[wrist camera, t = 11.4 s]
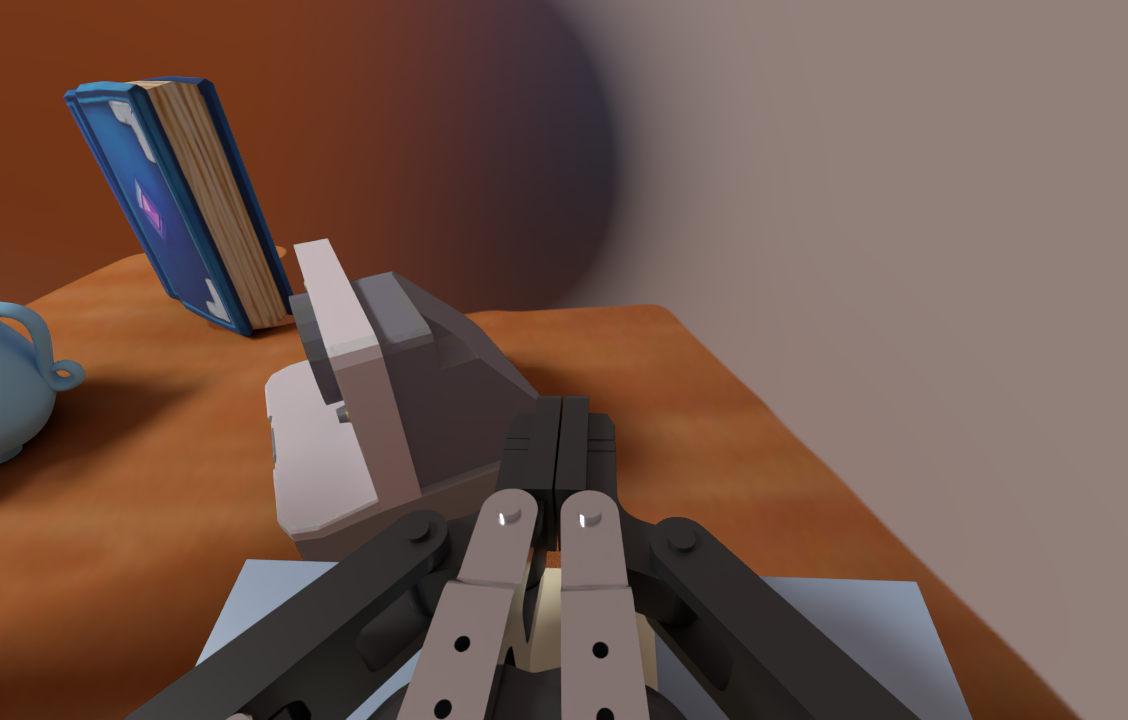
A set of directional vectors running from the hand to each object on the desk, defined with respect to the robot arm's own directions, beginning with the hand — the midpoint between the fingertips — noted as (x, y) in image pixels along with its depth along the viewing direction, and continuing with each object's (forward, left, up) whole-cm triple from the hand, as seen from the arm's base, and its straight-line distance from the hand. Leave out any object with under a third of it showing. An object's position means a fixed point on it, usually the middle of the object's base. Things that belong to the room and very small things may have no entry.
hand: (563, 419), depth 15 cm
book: (-2, +61, -18) cm, 64 cm away
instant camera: (+3, +22, -18) cm, 29 cm away
